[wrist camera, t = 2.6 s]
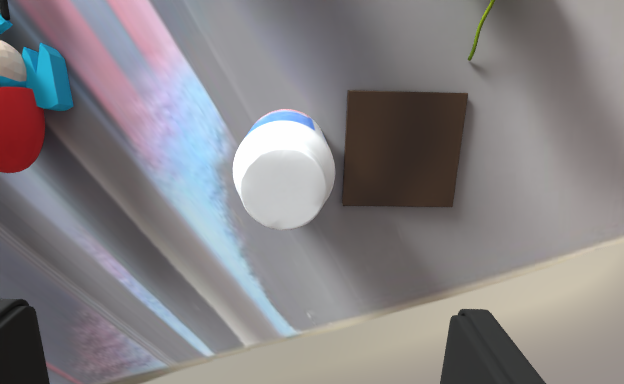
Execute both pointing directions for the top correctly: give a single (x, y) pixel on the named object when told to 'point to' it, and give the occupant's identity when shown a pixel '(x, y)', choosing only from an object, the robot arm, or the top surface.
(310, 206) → the pill bottle
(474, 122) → the top surface
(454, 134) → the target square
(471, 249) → the top surface
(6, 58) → the toy figure
